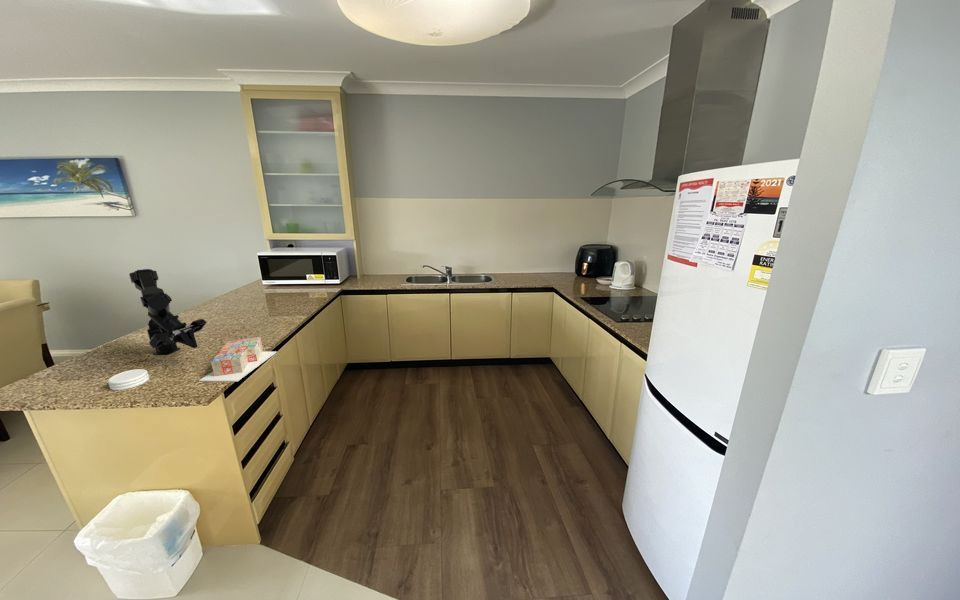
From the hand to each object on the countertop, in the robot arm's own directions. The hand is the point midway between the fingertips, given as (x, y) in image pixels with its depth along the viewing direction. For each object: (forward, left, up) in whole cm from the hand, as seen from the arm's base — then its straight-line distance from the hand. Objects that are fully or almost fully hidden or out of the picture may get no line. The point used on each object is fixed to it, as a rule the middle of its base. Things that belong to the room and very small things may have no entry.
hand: (196, 347), depth 129 cm
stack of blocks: (+9, 0, -4) cm, 10 cm away
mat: (+17, 0, -8) cm, 18 cm away
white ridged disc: (-14, -14, -8) cm, 21 cm away
